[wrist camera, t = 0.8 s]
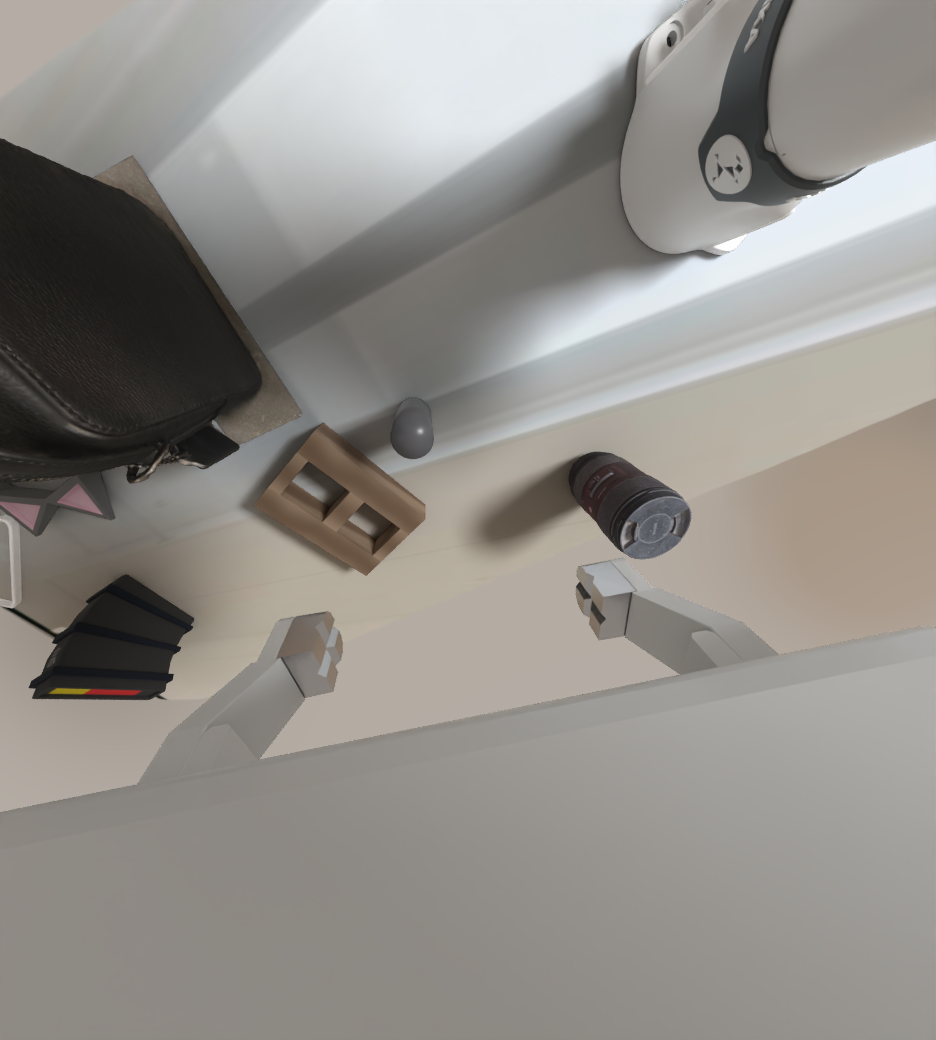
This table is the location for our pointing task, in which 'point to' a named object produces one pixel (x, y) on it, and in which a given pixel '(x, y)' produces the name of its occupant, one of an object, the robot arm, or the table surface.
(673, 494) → the camera lens
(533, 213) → the table surface
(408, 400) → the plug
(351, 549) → the socket block
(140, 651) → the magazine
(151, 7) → the table surface
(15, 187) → the shoulder bag
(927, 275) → the table surface
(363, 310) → the table surface
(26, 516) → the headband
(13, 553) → the phone case
